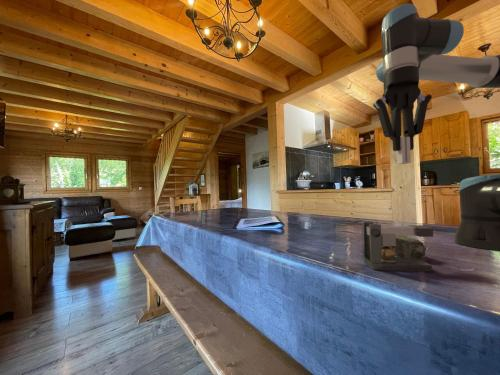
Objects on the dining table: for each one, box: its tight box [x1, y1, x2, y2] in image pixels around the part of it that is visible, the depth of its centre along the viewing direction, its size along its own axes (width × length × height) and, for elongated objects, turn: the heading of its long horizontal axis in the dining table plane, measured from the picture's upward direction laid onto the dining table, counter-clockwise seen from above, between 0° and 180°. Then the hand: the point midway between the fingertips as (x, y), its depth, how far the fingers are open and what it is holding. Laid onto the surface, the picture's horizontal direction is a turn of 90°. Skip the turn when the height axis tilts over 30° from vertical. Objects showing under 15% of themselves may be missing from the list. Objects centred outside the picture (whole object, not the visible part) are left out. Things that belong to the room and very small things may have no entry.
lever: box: [366, 224, 434, 246], centre depth 56 cm, size 14×5×4 cm, turn 81°
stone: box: [389, 236, 427, 259], centre depth 66 cm, size 14×7×10 cm, turn 28°
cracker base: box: [362, 221, 433, 273], centre depth 56 cm, size 13×6×11 cm, turn 81°
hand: (403, 163), depth 56 cm, fingers closed
